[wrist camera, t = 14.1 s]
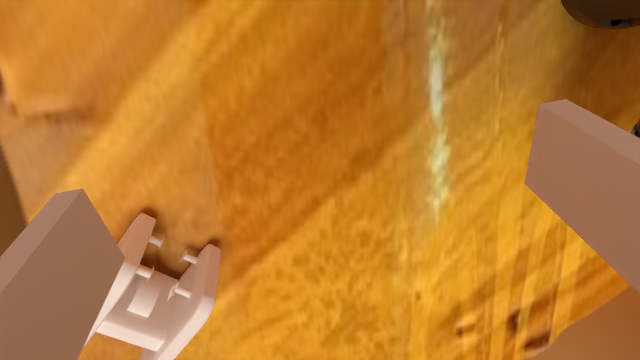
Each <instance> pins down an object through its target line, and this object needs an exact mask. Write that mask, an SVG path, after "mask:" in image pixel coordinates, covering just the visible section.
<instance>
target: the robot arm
mask: <svg viewBox="0 0 640 360" xmlns="http://www.w3.org/2000/svg"><path fill="white" fill-rule="evenodd" d="M562 2H563V4H564V6H565V8H566V10H567V11H568V12H569V13H570V15H571V16H572V17H574V18H575V19H576V20H577V21H579V22H581V23H583V24H585V25H588V26H592V27H600V28H608V29H622V28H628V27H633V26H637V25H640V0H562ZM525 184H526V185H527V186H528V187H529V188H530V189H531V190H532V191H533V192H534V193H535V194H536V195H537V196H538V197H539V198H540V199H541V200H542V201H544V202H545V203H546V204H547V205H548V206H549V207H550V208H551V209H552V210H553V211H554V212H555V213H556V214H557V215H558V216H559V217H560V218H561V219H562V220H563V221H564V222H565V223H566V224H567V225H569V226H570V227H571V228H572V229H573V230H574V231H575V232H576V233H577V234H578V235H579V236H580V237H581V238H582V239H583V240H584V241H585V242H586V243H587V244H588V245H589V246H590V247H591V248H593V249H594V250H595V251H596V252H597V253H598V254H599V255H600V256H601V257H602V258H603V259H604V260H605V261H606V262H607V263H608V264H609V265H610V266H611V267H612V268H613V269H614V270H615V271H617V272H618V273H619V274H620V275H621V276H622V277H623V278H624V279H625V280H626V281H627V282H628V283H629V284H630V285H631V286H632V287H633V288H634V289H635V290H636V291H637V292H638V293H640V119H639V121H638V122H637V124H636V125H635V126H634V127H633V129H632V132H631V133H629V132H627V131H625V130H623V129H621V128H620V127H618V126H616V125H614V124H612V123H610V122H608V121H606V120H605V119H603V118H601V117H599V116H597V115H595V114H593V113H591V112H590V111H588V110H586V109H584V108H582V107H580V106H578V105H576V104H575V103H573V102H571V101H569V100H567V99H562V100H557V101H552V102H546V103H541V104H539V109H538V114H537V119H536V125H535V130H534V136H533V141H532V147H531V152H530V158H529V163H528V169H527V174H526V179H525ZM124 260H125V257H124V255H123V253H122V252H121V250H120V248H119V247H118V245H117V244H116V242H115V240H114V239H113V237H112V235H111V234H110V232H109V231H108V229H107V227H106V226H105V224H104V222H103V221H102V219H101V218H100V216H99V214H98V213H97V211H96V209H95V208H94V206H93V205H92V203H91V201H90V200H89V198H88V196H87V195H86V193H85V192H84V190H83V189H77V190H72V191H67V192H61V193H56V194H55V195H54V196H53V197H52V198H51V200H50V201H49V202H48V203H47V204H46V205H45V206H44V208H43V209H42V210H41V211H40V212H39V213H38V214H37V216H36V217H35V218H34V219H33V220H32V221H31V222H30V224H29V225H28V226H27V227H26V228H25V229H24V231H23V232H22V233H21V234H20V235H19V236H18V237H17V239H16V240H15V241H14V242H13V243H12V244H11V246H10V247H9V248H8V249H7V250H6V251H5V252H4V253H3V255H2V256H1V257H0V360H77V359H78V357H79V355H80V353H81V351H82V349H83V347H84V344H85V342H86V340H87V338H88V336H89V334H90V332H91V330H92V328H93V325H94V323H95V321H96V319H97V317H98V315H99V313H100V311H101V308H102V306H103V304H104V302H105V300H106V298H107V296H108V294H109V292H110V289H111V287H112V285H113V283H114V281H115V279H116V277H117V275H118V273H119V270H120V268H121V266H122V264H123V262H124Z"/></svg>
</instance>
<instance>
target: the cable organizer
mask: <svg viewBox="0 0 640 360" xmlns="http://www.w3.org/2000/svg"><path fill="white" fill-rule="evenodd" d="M155 223H156V219H155V218H153V217H151V216H149V215H147V214H144V213H141V214H139V215H138V216H137V217H136V219H135V220H134V221H133V222H132V224H131V225H130V227H129V228H128V229H127V231H126V232H125V234H124V235H123V237H122V238H121V240H120V241H119V242H118V244H117V245H118V247H119V248H120V250H121V252H122V253H123V255H124V257H125V260H124V262H123V264H122V266H121V268H120V270H119V273H118V275H117V277H116V279H115V281H114V283H113V285H112V287H111V289H110V292H109V294H108V296H107V298H106V300H105V302H104V304H103V306H102V308H101V311H100V313H99V315H98V317H97V319H96V321H95V323H94V325H93V328H92V330H91V332H90V334H89V336H88V338H87V340H86V342H85V344H84V347H85V345H86V344H87V343H88V341H89V340H90V338H91V337H92V336H93V334H94V333H95V332H98V333H101V334H104V335H105V336H106V337H107V336H110V337H113V338H116V339H119V340H122V341H125V342H128V343H131V344H133V345H137V346H140V347H143V349H142V352H141V356H140V359H139V360H174V359H175V357H176V356H177V355H178V354H179V353H180V352H181V350H182V349H183V348H184V347H185V346H186V345H187V343H188V342H189V341H190V340H191V339H192V338H193V336H194V335H195V334H196V333H197V332H198V331H199V329H200V328H201V327H202V326H203V325H204V323H205V322H206V320H207V319H208V317H209V315H210V313H211V311H212V309H213V307H214V304H215V300H216V291H217V282H218V273H219V264H220V255H221V249H220V248H218V247H216V246H214V245H212V244H208V245H207V246H205V247H204V248H203V250H202V251H201V252H200V253H199V255H198V256H197V257H194V256H192V255H189V254H187V253H186V252H187V251H188V250H187V251H186V249H185V251H184V252H183V254H182V255H181V260H180V262H181V261H183V259H184V260H186V261H189V262H191V265H190V266H189V267H188V269H187V270H186V271H185V272H184V274H183V275H182V276H181V277H180V279H179V280H178V279H174V278H172V277H169V276H167V275H165V274H162V273H160V272H158V271H155V270H154V269H155V268H154V266H153V268H154V269H153V268H152V269H151V268H148V267H146V266H143V265H141V264H140V261H141V259H142V256H143V254H144V251H145V249H146V246H147V244H148V242H150V243H152V244H155V245H157V246H159V247H158V249H159V248H160V247H161V245H162V243H163V241H164V239H165V238H164V237H163V239H162V240H160V239H158V238H156V237H154V236H152V235H151V234H152V231H153V229H154V226H155ZM158 249H157V250H158ZM179 264H180V263H179ZM104 338H105V337H104ZM133 345H132V347H133ZM84 347H83V348H84Z"/></svg>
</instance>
